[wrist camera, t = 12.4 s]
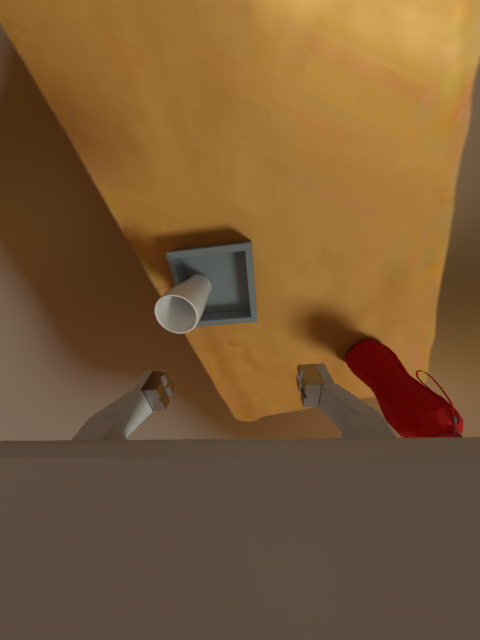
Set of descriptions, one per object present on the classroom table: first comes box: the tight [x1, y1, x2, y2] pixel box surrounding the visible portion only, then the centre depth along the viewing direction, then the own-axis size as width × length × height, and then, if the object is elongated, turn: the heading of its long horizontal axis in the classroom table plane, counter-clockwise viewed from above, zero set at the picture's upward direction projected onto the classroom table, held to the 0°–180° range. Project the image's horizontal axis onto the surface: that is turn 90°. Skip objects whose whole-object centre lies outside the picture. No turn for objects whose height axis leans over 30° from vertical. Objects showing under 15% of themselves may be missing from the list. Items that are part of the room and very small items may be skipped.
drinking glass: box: [155, 274, 211, 333], centre depth 34 cm, size 7×7×15 cm
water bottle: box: [346, 340, 463, 438], centre depth 37 cm, size 9×11×25 cm
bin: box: [165, 241, 257, 326], centre depth 39 cm, size 16×16×5 cm
